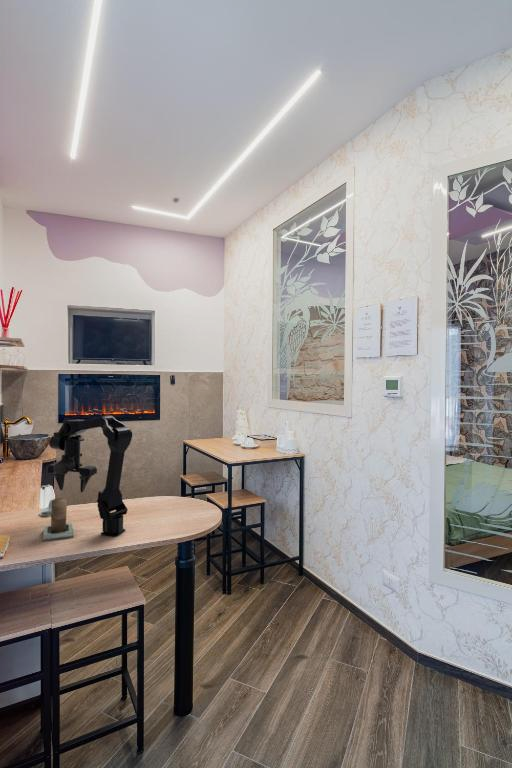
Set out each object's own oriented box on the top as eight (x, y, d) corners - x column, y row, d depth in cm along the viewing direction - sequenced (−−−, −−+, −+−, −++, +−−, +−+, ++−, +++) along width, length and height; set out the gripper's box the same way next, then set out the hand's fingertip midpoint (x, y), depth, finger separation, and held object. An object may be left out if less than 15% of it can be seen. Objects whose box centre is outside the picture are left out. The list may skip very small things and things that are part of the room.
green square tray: (72, 527, 162) (72, 522, 162) (73, 537, 153) (73, 531, 153) (42, 531, 158) (43, 526, 158) (42, 541, 149) (42, 535, 149)
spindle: (68, 531, 158) (69, 499, 157) (59, 536, 153) (60, 503, 152) (56, 529, 159) (57, 497, 158) (47, 534, 154) (48, 501, 153)
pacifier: (37, 517, 173) (53, 516, 174) (37, 502, 172) (53, 501, 174) (41, 512, 180) (57, 510, 181) (41, 497, 180) (57, 496, 181)
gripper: (37, 453, 163) (36, 494, 163) (80, 457, 159) (79, 499, 159) (56, 448, 173) (56, 487, 174) (98, 452, 169) (97, 491, 170)
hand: (71, 491), depth 169 cm, fingers open, 9 cm apart
